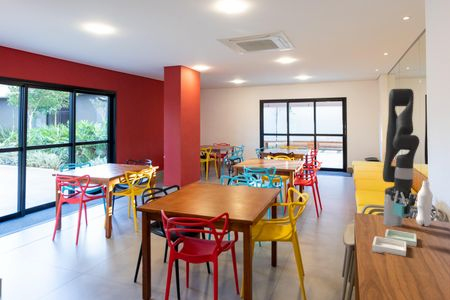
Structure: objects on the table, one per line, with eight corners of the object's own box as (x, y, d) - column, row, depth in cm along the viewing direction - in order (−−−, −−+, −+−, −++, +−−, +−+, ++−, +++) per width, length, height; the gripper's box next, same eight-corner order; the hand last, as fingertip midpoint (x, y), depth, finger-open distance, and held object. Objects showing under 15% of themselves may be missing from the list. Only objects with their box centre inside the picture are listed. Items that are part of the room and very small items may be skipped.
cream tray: (374, 242, 142) (375, 236, 142) (405, 248, 136) (406, 241, 136) (372, 251, 132) (372, 244, 131) (405, 258, 125) (406, 251, 125)
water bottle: (425, 223, 174) (427, 180, 172) (434, 227, 167) (436, 182, 165) (413, 223, 174) (415, 180, 172) (421, 227, 167) (424, 182, 165)
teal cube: (393, 213, 146) (393, 203, 145) (401, 212, 147) (402, 202, 146) (401, 216, 141) (401, 206, 140) (410, 216, 142) (410, 205, 142)
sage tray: (386, 234, 153) (386, 229, 153) (415, 239, 147) (415, 233, 146) (384, 242, 142) (384, 236, 142) (416, 248, 136) (416, 241, 136)
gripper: (423, 179, 136) (421, 216, 138) (398, 174, 150) (396, 207, 152) (409, 180, 134) (407, 217, 136) (385, 174, 148) (383, 208, 150)
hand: (401, 212), depth 144 cm, fingers closed on teal cube, 5 cm apart
